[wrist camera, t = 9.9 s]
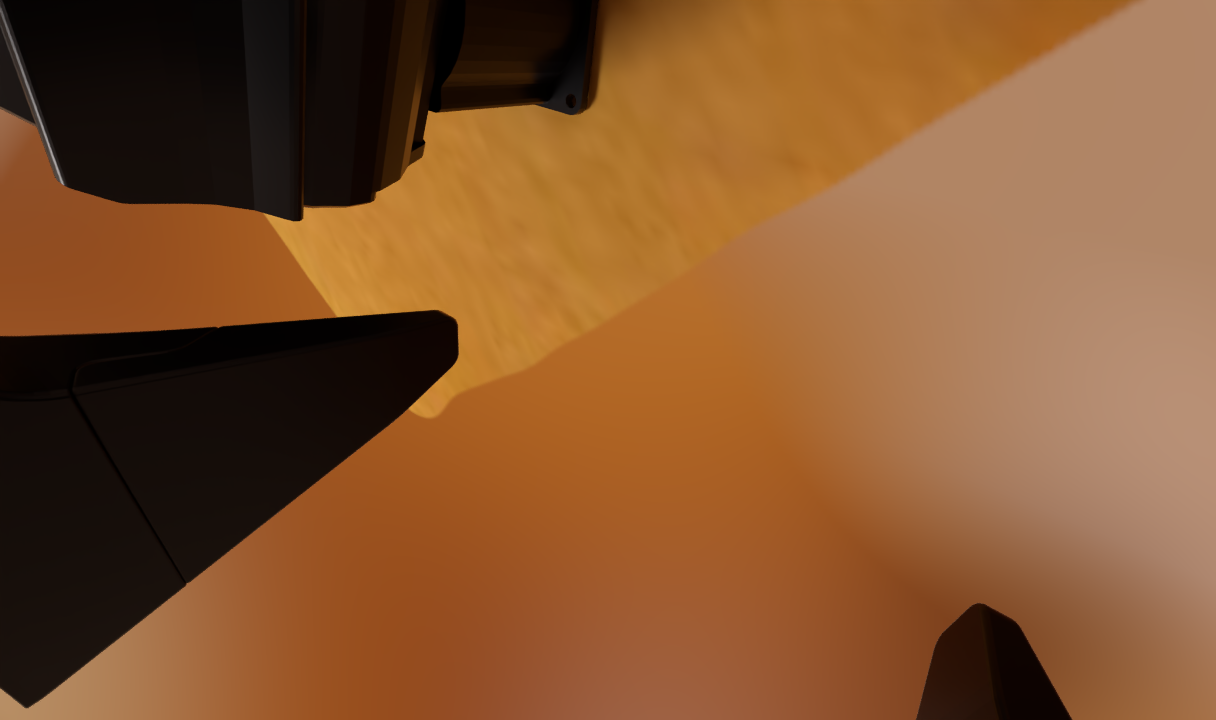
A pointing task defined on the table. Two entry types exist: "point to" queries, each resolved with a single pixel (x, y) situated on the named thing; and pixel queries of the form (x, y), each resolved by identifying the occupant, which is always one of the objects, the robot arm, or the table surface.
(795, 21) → the table surface
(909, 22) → the table surface
